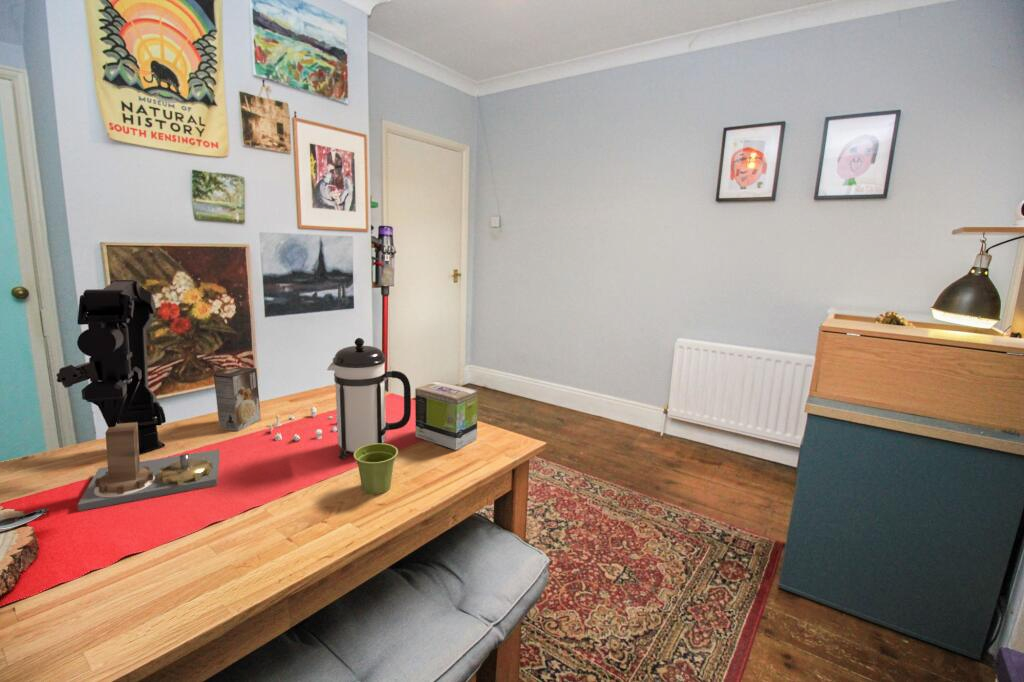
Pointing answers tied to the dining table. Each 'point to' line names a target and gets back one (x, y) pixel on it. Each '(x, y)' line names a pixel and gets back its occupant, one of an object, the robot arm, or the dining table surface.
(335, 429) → the game piece set
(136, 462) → the walnut gear
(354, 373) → the coffee press
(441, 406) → the tea box
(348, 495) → the dining table surface
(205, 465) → the brass gear
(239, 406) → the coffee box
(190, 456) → the gear board
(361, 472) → the plant pot
